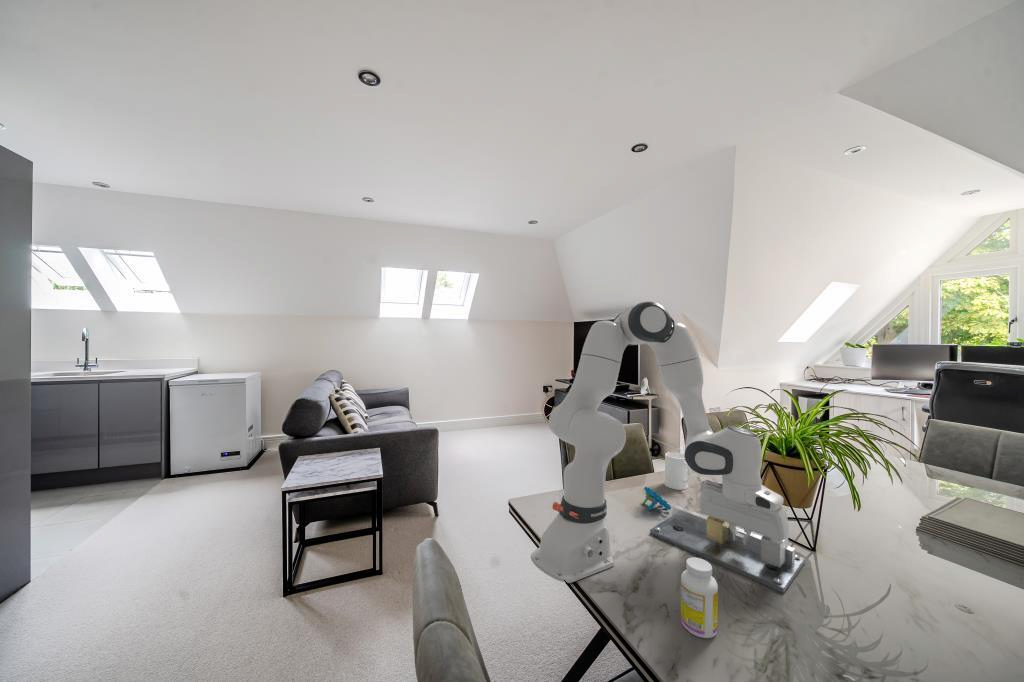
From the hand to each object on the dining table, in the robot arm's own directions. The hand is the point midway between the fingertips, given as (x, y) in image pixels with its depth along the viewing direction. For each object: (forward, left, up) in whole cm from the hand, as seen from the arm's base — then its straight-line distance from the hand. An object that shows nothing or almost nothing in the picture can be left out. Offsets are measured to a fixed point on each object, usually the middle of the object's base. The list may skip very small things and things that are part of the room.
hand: (740, 542), depth 98 cm
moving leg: (+2, +6, -3) cm, 7 cm away
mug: (+33, +33, -5) cm, 47 cm away
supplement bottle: (-32, -3, -5) cm, 32 cm away
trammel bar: (+2, +5, -3) cm, 7 cm away
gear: (+10, +29, -5) cm, 31 cm away
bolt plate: (+2, +5, -4) cm, 7 cm away
